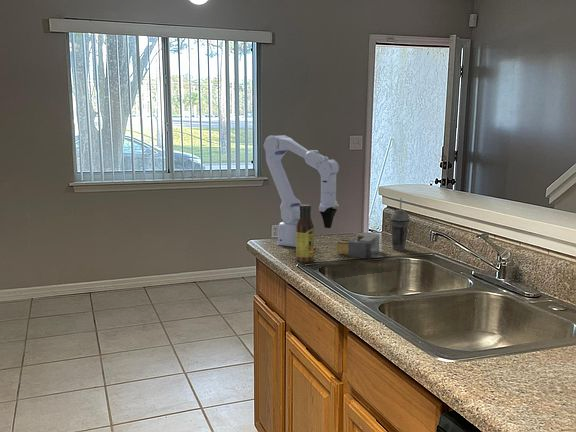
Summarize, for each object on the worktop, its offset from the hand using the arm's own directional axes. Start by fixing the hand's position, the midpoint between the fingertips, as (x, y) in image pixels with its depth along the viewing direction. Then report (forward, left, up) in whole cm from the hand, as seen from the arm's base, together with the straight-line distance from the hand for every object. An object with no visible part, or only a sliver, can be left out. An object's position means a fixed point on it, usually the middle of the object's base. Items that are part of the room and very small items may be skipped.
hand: (327, 227), depth 212 cm
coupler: (+14, 0, -9) cm, 17 cm away
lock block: (+7, 0, -9) cm, 12 cm away
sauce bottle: (-2, -19, -9) cm, 21 cm away
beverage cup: (+24, +13, -9) cm, 29 cm away
